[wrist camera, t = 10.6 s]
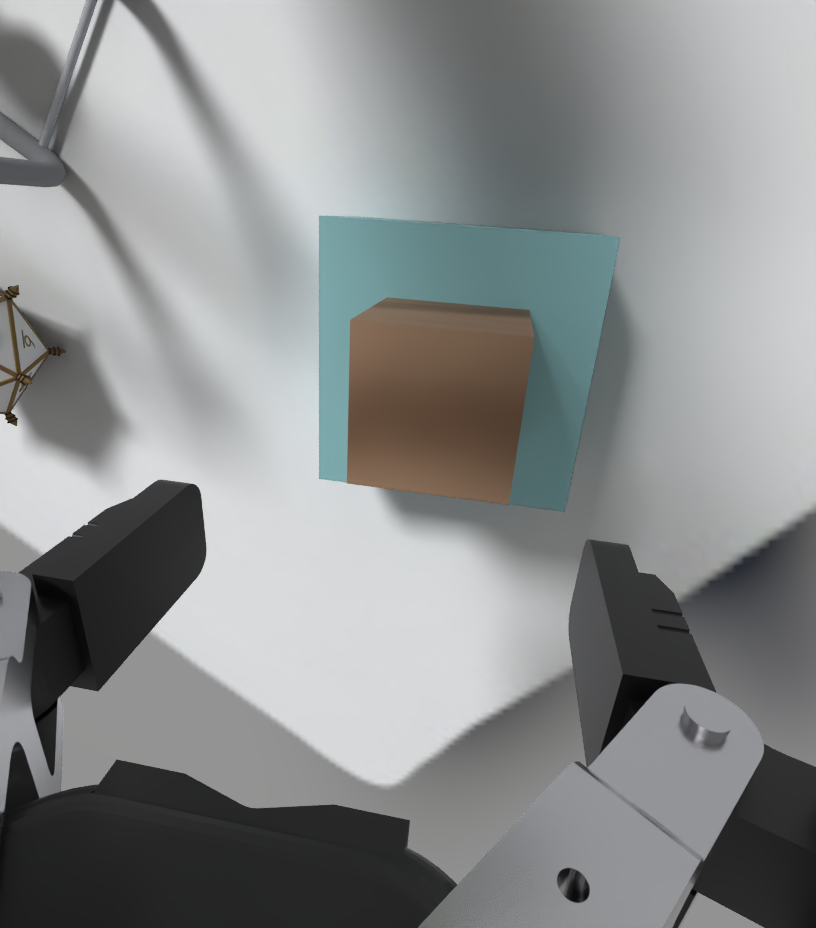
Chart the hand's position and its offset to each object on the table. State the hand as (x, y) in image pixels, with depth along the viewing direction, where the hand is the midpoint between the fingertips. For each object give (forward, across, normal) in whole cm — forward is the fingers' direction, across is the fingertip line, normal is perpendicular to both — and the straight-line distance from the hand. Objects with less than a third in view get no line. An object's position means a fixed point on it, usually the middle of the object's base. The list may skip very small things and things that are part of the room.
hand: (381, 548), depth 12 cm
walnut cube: (+15, 0, 0) cm, 15 cm away
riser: (+21, 0, 0) cm, 21 cm away
